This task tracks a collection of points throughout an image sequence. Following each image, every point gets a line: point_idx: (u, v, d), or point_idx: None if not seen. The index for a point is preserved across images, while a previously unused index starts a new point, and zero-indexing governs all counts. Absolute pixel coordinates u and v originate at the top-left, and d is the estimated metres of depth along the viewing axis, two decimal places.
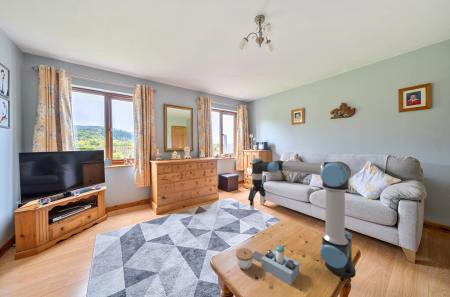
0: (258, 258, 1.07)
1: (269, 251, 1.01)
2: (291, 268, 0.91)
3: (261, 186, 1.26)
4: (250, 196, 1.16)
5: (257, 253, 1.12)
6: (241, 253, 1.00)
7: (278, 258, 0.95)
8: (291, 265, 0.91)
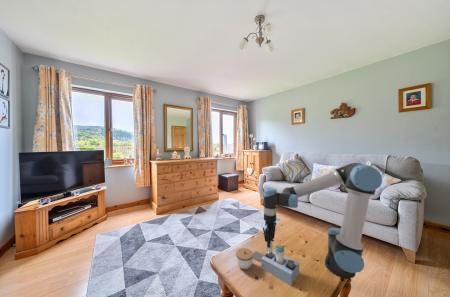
0: (258, 258, 1.07)
1: (269, 252, 1.01)
2: (291, 268, 0.91)
3: (273, 224, 1.04)
4: (266, 238, 0.98)
5: (257, 253, 1.12)
6: (241, 253, 1.00)
7: (278, 258, 0.95)
8: (291, 265, 0.91)
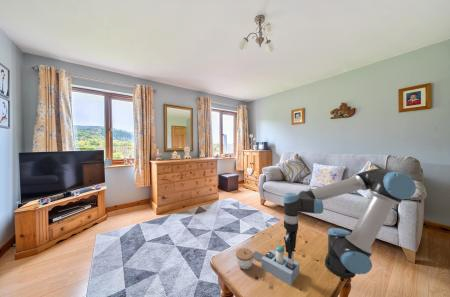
0: (258, 258, 1.07)
1: (269, 253, 1.01)
2: None
3: None
4: (288, 249, 0.89)
5: (257, 253, 1.12)
6: (241, 253, 1.00)
7: (278, 258, 0.95)
8: (291, 267, 0.91)
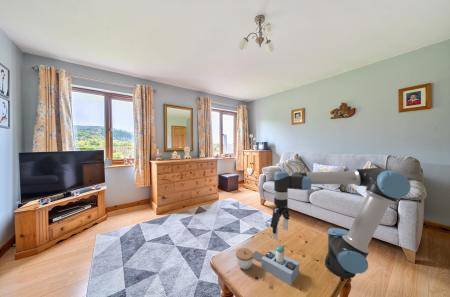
0: (258, 258, 1.07)
1: (269, 253, 1.01)
2: None
3: (285, 207, 0.99)
4: (273, 222, 0.89)
5: (257, 253, 1.12)
6: (241, 253, 1.00)
7: (278, 258, 0.95)
8: (291, 267, 0.91)
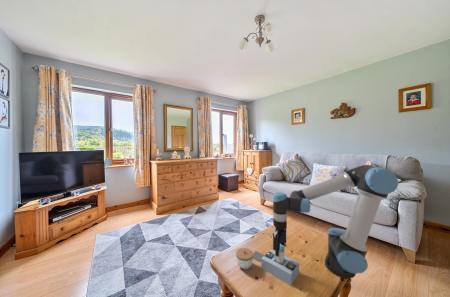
0: (258, 258, 1.07)
1: (269, 253, 1.01)
2: None
3: (284, 229, 1.00)
4: (275, 246, 0.92)
5: (257, 253, 1.12)
6: (241, 253, 1.00)
7: None
8: (291, 267, 0.91)
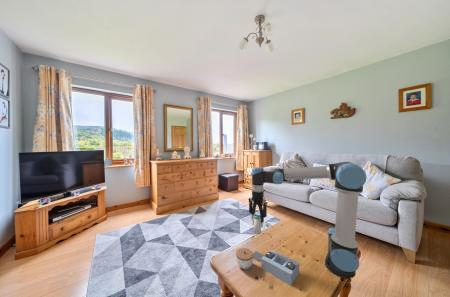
0: (258, 258, 1.07)
1: (269, 253, 1.01)
2: None
3: None
4: (265, 213, 1.05)
5: (257, 253, 1.12)
6: (241, 253, 1.00)
7: None
8: (291, 267, 0.91)
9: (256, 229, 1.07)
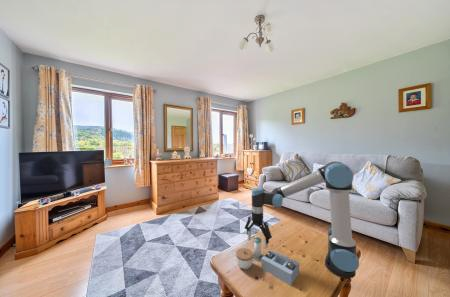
0: (258, 258, 1.07)
1: (269, 253, 1.01)
2: None
3: None
4: (269, 233, 1.03)
5: None
6: (241, 253, 1.00)
7: (260, 248, 1.08)
8: (291, 267, 0.91)
9: (256, 253, 1.07)
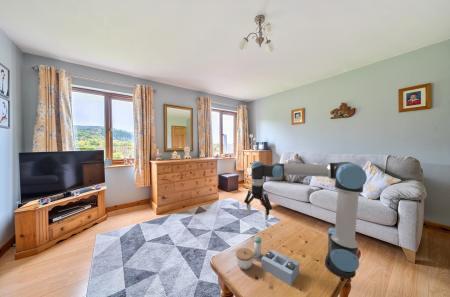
0: (258, 258, 1.07)
1: (269, 253, 1.01)
2: None
3: None
4: (270, 204, 1.03)
5: None
6: (241, 253, 1.00)
7: (260, 248, 1.08)
8: (291, 267, 0.91)
9: (256, 253, 1.07)
